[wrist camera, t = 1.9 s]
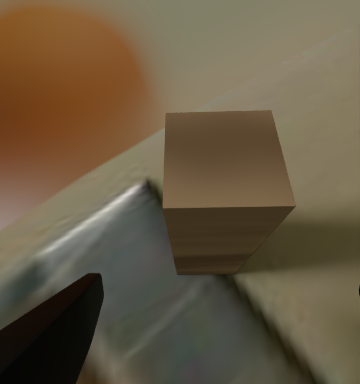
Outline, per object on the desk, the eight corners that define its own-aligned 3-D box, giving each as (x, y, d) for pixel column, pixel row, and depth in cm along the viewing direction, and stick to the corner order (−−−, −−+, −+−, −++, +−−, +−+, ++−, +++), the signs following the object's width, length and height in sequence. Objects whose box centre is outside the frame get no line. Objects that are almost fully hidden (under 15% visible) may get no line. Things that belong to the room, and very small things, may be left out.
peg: (234, 274, 19) (295, 205, 8) (177, 274, 19) (162, 208, 8) (228, 220, 21) (271, 110, 10) (177, 221, 21) (165, 112, 10)
